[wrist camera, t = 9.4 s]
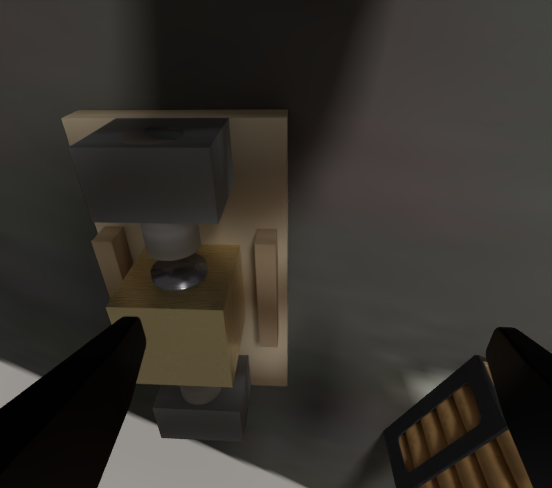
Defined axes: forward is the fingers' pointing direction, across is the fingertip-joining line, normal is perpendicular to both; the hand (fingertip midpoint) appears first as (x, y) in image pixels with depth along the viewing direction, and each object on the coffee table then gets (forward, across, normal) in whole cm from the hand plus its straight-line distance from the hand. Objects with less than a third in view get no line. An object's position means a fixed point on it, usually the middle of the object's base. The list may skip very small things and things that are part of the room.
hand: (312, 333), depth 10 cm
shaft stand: (+11, +6, +6) cm, 14 cm away
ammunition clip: (+11, -10, +18) cm, 23 cm away
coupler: (+10, +6, +6) cm, 13 cm away
